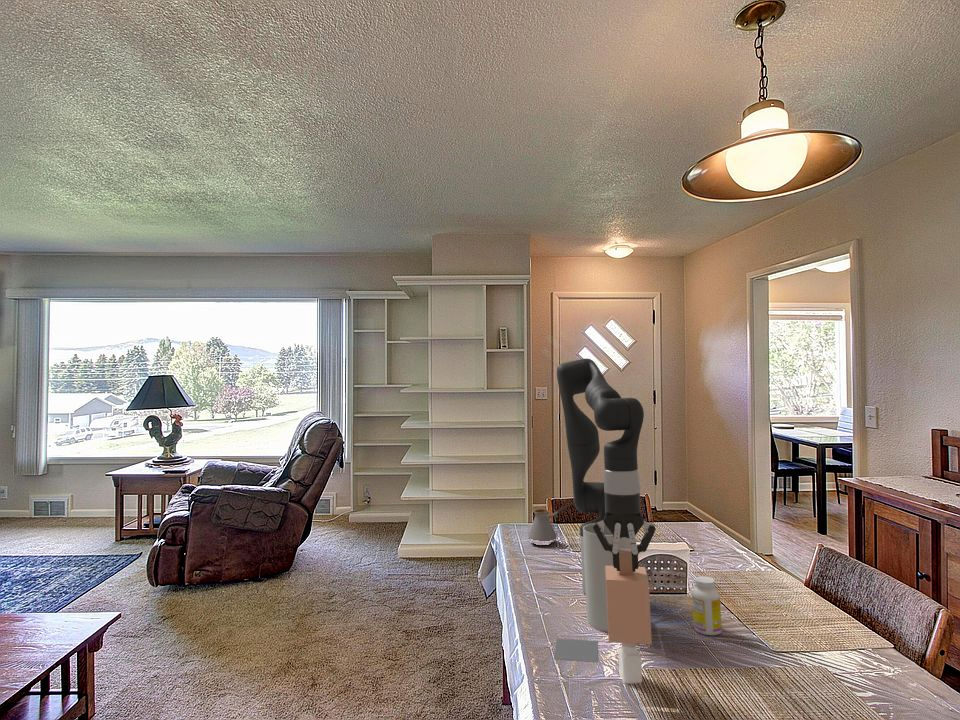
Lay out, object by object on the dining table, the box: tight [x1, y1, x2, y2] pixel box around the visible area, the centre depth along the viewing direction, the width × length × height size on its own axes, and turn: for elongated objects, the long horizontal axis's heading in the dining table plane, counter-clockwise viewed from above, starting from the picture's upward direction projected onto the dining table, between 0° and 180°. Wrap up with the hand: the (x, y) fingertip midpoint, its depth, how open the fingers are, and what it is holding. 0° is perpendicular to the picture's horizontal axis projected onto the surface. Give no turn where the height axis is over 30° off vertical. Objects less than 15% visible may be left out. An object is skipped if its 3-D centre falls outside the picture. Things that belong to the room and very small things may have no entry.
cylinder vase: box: [583, 523, 632, 633], centre depth 142 cm, size 12×12×25 cm
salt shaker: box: [618, 643, 643, 685], centre depth 114 cm, size 4×4×10 cm
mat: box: [553, 638, 599, 663], centre depth 127 cm, size 10×10×1 cm
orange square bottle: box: [605, 549, 653, 646], centre depth 115 cm, size 9×9×18 cm
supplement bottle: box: [691, 575, 723, 636], centre depth 136 cm, size 7×7×13 cm
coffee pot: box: [527, 501, 575, 541], centre depth 215 cm, size 21×12×15 cm, turn 108°
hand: (625, 569), depth 115 cm, fingers closed on orange square bottle, 2 cm apart
